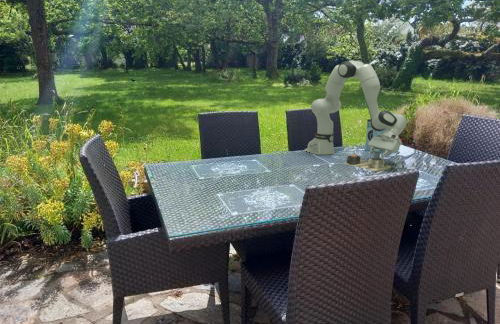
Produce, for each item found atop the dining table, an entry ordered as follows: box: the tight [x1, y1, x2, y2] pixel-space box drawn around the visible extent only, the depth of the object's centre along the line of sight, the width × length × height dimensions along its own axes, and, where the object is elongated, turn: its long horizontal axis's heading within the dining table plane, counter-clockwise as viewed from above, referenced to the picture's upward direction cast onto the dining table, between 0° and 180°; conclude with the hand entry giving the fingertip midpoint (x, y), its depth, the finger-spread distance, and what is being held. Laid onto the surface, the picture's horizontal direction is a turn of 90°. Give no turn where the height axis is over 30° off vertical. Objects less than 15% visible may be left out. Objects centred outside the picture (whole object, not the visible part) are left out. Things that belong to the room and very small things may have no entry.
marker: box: [373, 149, 381, 161], centre depth 255 cm, size 4×4×11 cm
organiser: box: [343, 155, 392, 173], centre depth 262 cm, size 24×17×6 cm
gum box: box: [364, 118, 393, 156], centre depth 299 cm, size 20×5×23 cm, turn 39°
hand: (376, 155), depth 254 cm, fingers open, 8 cm apart
